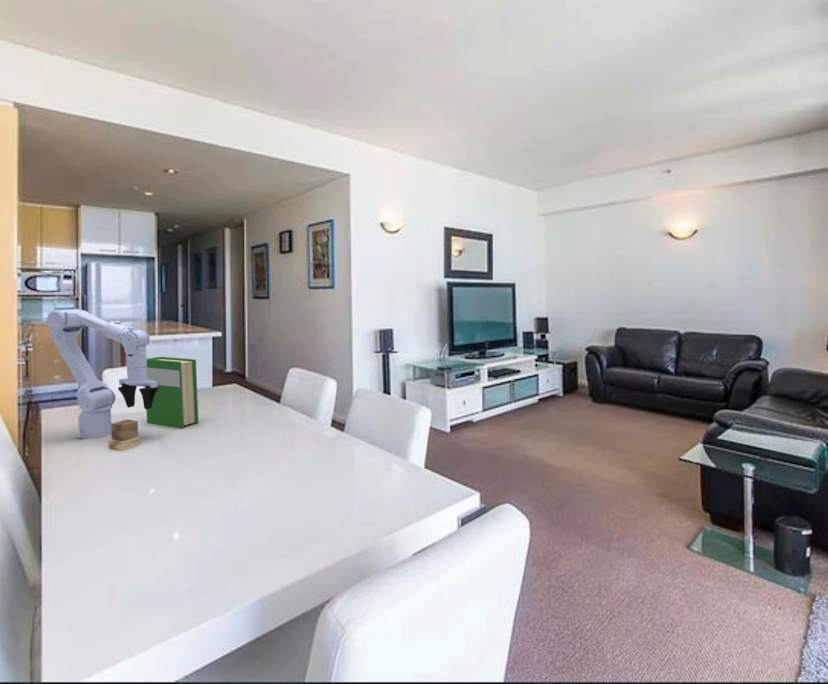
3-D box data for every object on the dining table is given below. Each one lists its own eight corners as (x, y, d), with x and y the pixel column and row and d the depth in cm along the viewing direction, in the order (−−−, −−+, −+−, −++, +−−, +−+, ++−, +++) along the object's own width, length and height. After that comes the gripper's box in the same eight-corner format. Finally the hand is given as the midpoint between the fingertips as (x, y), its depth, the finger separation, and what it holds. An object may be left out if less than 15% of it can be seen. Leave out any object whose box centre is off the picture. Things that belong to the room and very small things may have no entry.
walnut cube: (111, 439, 146) (110, 423, 146) (126, 434, 151) (125, 419, 150) (123, 441, 144) (122, 425, 144) (138, 436, 149) (137, 420, 149)
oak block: (108, 448, 146) (108, 440, 146) (126, 443, 151) (125, 434, 151) (123, 451, 144) (122, 442, 144) (140, 445, 149) (140, 436, 149)
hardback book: (198, 423, 177) (195, 359, 175) (181, 428, 170) (178, 362, 168) (164, 418, 184) (161, 356, 182) (147, 423, 177) (143, 359, 175)
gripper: (109, 367, 155) (112, 408, 156) (143, 370, 150) (145, 412, 151) (128, 364, 162) (131, 404, 163) (161, 366, 157) (163, 407, 158)
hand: (139, 407), depth 158 cm, fingers open, 7 cm apart
